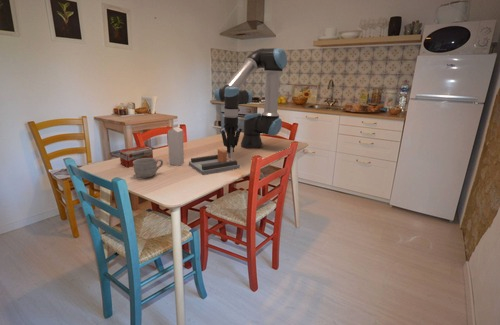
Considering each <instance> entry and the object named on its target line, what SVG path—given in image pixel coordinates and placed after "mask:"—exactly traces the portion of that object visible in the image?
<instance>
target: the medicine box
mask: <svg viewBox="0 0 500 325" xmlns="http://www.w3.org/2000/svg"><path fill="white" fill-rule="evenodd" d="M153 156H154V153H153V148H151V147H148V146H146V145H141V146H136V147H130V148H125V149H121V150H119V161H120V165H122V166H125V167H127V168H134V165H133V161H134V160H137V159H142V158H154V157H153Z"/></svg>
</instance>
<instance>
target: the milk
mask: <svg viewBox="0 0 500 325" xmlns="http://www.w3.org/2000/svg"><path fill="white" fill-rule="evenodd" d="M171 127H172V128H170V129H169V130H168V131H167V144H168V145H167V146H168V147H167V148H168V163H169V166H174V167H175V166H176V167H180V166H181V165H183V164H184V163H185V153H184V152H185V151H184V147H185V146H184V130H183V129H182V128H180V127H179V124H178V123H177V124H174V125H172V126H171Z"/></svg>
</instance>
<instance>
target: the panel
mask: <svg viewBox="0 0 500 325" xmlns="http://www.w3.org/2000/svg"><path fill="white" fill-rule="evenodd" d="M228 161H232V159H229V158H228V157H227V162H228ZM215 163H221V162H219V161H218V159H215V160H208V161H202V162H195V163H192V162H191V160H190V161H188V166H190V167H191V168H192V169H194V170H195V171H197V173H198V174H200V175H202V176H204V175H211V174H217V173H221V172H223V173H224V172H227V171H234V170H238V169H237V168H240V167H241V165H240V164H239V163H237V165H233V166H227V167H221V168H215V169H209V170H202V166H203V165H209V164H215ZM233 169H234V170H233Z"/></svg>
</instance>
